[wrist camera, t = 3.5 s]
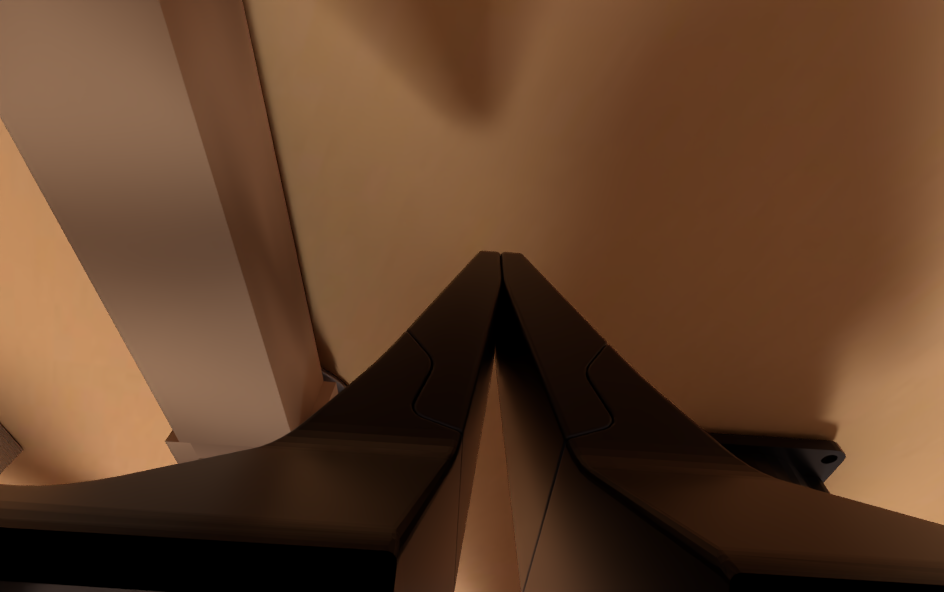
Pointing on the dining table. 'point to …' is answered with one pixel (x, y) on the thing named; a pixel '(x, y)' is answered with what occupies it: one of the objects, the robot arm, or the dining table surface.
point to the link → (170, 204)
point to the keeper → (7, 449)
